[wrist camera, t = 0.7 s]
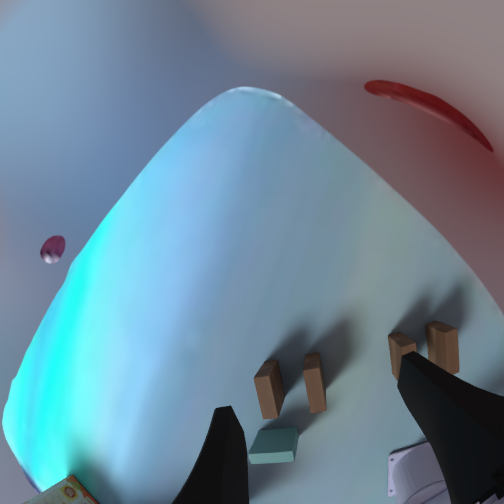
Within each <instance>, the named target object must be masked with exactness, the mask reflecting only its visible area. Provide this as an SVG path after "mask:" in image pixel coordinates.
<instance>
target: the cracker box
mask: <svg viewBox="0 0 504 504" xmlns="http://www.w3.org/2000/svg"><path fill="white" fill-rule="evenodd" d="M23 504H99V503H98V502H97V501H96V500H95V499H94V498H93V497H92V496H91V495H90V494H89V493H88V492H87V491H86V489H85V488H84V487H83V486H82V485H81V484H80V483H79V481H78V480H77V479H76V478H75V477H74V476H73V475H71V476H69V477H67V478H65V479H63V480H62V481H60V482H58V483H57V484H55V485H53V486H52V487H50V488H49V489H47V490H45V491H44V492H42V493H40V494H39V495H37V496H35V497H33V498H32V499H30V500H28V501H26V502H25V503H23Z"/></svg>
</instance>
